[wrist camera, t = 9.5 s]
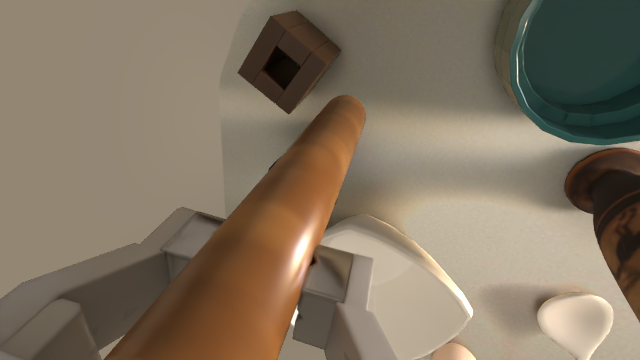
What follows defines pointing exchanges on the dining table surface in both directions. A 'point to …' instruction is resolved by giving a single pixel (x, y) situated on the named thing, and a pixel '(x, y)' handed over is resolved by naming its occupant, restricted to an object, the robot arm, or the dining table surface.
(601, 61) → the mixing bowl
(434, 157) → the dining table surface
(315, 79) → the holder
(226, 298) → the stick
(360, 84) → the dining table surface
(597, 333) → the spoon
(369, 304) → the bowl
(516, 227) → the dining table surface
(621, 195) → the vase
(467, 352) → the egg
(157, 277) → the robot arm
